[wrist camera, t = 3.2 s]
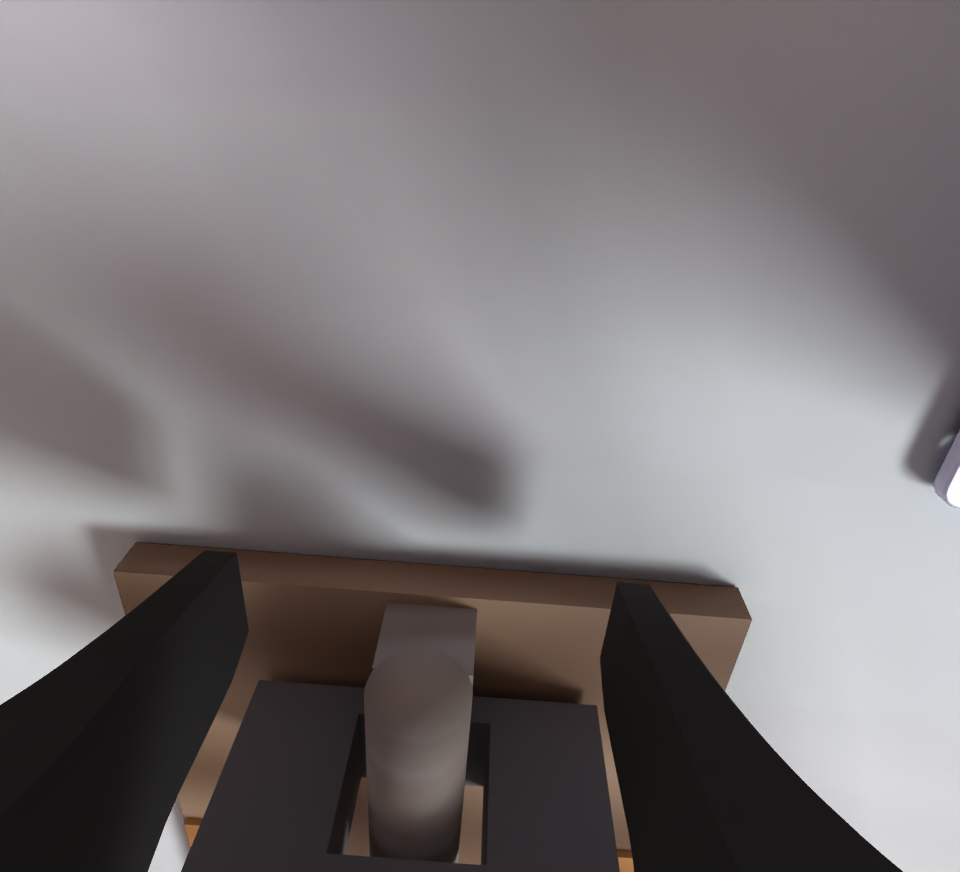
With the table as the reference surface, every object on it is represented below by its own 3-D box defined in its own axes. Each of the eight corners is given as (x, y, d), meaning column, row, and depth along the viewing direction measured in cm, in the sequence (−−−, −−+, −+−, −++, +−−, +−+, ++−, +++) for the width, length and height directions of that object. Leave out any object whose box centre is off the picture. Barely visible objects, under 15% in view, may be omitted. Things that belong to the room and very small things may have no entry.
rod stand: (135, 542, 15) (-1, 717, 11) (737, 587, 15) (822, 779, 11) (225, 895, 23) (165, 1071, 19) (619, 924, 23) (642, 1107, 19)
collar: (258, 679, 15) (167, 903, 11) (596, 705, 15) (629, 938, 11) (268, 743, 16) (190, 966, 12) (582, 767, 16) (606, 998, 12)
